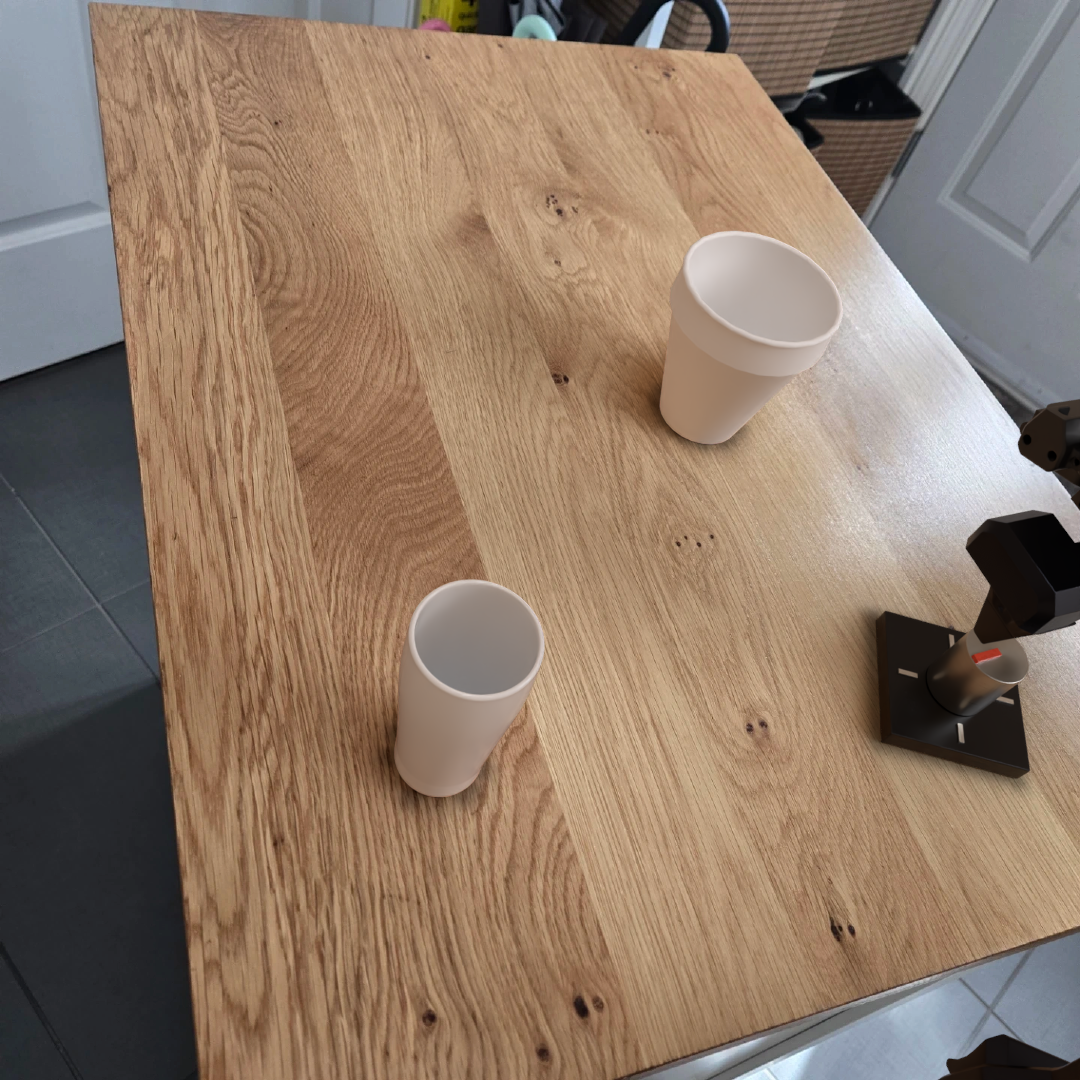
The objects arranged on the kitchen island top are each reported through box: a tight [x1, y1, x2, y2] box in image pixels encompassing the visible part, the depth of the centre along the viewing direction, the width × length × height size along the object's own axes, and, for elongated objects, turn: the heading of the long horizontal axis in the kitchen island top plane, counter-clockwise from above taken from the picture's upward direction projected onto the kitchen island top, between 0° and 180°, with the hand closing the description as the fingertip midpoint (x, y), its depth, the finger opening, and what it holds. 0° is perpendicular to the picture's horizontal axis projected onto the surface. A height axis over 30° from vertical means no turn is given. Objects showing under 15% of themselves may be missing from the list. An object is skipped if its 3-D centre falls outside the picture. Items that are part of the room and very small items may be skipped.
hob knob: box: [927, 627, 1030, 716], centre depth 65 cm, size 4×4×5 cm
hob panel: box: [875, 610, 1031, 779], centre depth 68 cm, size 10×10×2 cm
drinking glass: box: [393, 578, 546, 798], centre depth 52 cm, size 7×7×15 cm
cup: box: [659, 230, 844, 445], centre depth 74 cm, size 12×12×14 cm
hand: (1035, 622), depth 60 cm, fingers open, 9 cm apart
